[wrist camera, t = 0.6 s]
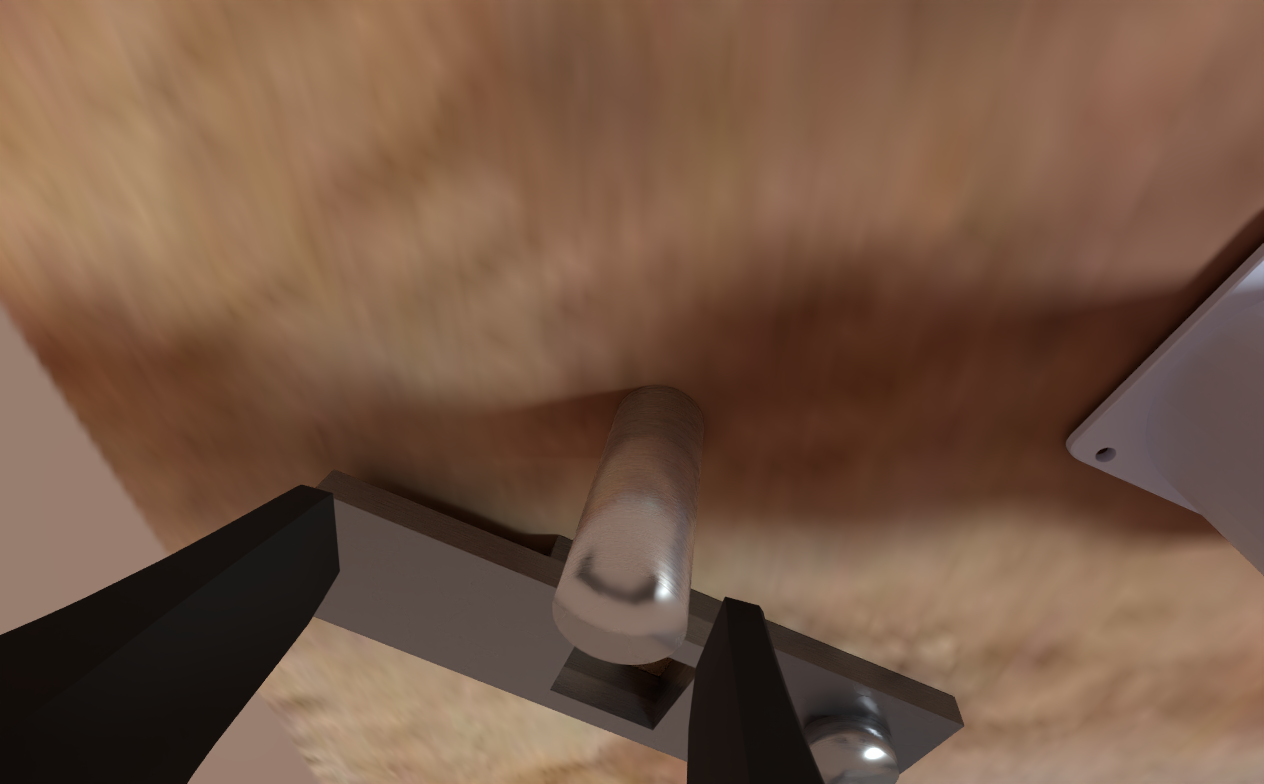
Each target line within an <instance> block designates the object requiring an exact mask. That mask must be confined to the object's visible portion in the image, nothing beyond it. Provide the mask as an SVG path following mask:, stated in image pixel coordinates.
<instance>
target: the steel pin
mask: <svg viewBox="0 0 1264 784" xmlns="http://www.w3.org/2000/svg"><path fill="white" fill-rule="evenodd" d="M703 435H704V420H703V416H702V413H701V411H700V409H699V407H698V406H697V405H696V403H695V402H694V401H693V400H692V399H691V398H690V397H689V396H687V395H686V394H684V393H683V392H681V391H679V390H677V389H674V388H671V387H667V386H656V385H654V386H646V387H642V388H639V389H637V390H635V391H633V392H631V393H630V394H628V395H627V396H626V397H625V398H624V399H623V400H622V402H621V403H620V405H619V407H618V409H617V412H616V415H615V418H614V421H613V424H612V427H611V429H610V432H609V435H608V438H607V441H606V444H605V447H604V450H603V453H602V456H601V459H600V462H599V465H598V468H597V471H596V474H595V477H594V480H593V483H592V486H591V489H590V492H589V495H588V498H587V501H586V504H585V507H584V510H583V513H582V516H581V519H580V522H579V525H578V528H577V531H576V534H575V537H574V540H573V543H572V546H571V549H570V552H569V555H568V558H567V561H566V564H565V567H564V570H563V573H562V576H561V579H560V582H559V585H558V588H557V591H556V594H555V596H554V599H553V605H552V613H553V618H554V621H555V623H556V625H557V627H558V629H559V630H560V632H561V633H562V634H563V636H564V637H565V638H566V639H567V640H568V641H569V642H570V643H572V644H573V645H574V646H575V647H577V648H578V649H580V650H581V651H583V652H585V653H587V654H589V655H591V656H593V657H595V658H598V659H601V660H604V661H608V662H612V663H617V664H626V665H639V664H647V663H652V662H656V661H659V660H661V659H664V658H666V657H668V656H669V655H671V654H672V653H674V652H675V651H676V650H677V649H678V648H679V647H680V646H681V644H682V643H683V641H684V639H685V636H686V632H687V624H688V612H689V600H690V588H691V577H692V565H693V553H694V541H695V529H696V517H697V506H698V494H699V482H700V470H701V458H702V447H703Z"/></svg>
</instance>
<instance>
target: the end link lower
mask: <svg viewBox="0 0 1264 784" xmlns="http://www.w3.org/2000/svg"><path fill="white" fill-rule="evenodd" d="M572 543H573V541H572V540H570V539H567V538H565V537H562V536H560V535H558V537H557V539H556V542H555V544H554V546H553V548H552V550H551V552H550V554H549V557H550V558H553V559H555V560H558V561H560V562H563V563H565V564H566V561H567V558H568V555H569V552H570V549H571V546H572ZM722 603H723V602H721V601H718V600H716V599H714V598H711V597H709V596H706V595H704V594H701V593H699V592H696V591H694V590H692V589H690V600H689V612H688V614H691V615H693V616H695V617H698V618H700V619H703V620H705V621H708V622H710V623H713V624H714V622H715V620H716V617H717V615H718V612H719V610H720V608H721V605H722ZM766 624H767V627H768V630H769V634H770V637H771V640H772V644H773V647H774V650H775V653H776V656H777V659H778V662H779V665H780V668H781V671H782V674H783V677H784V680H785V683H786V686H787V689H788V692H789V694H790V697H791V700H792V703H793V705H794V708H795V711H796V713H797V716H798V718H799V721H800V724H801V726H802V729H803V731H804V734H805V736H806V739H807V742H808V744H809V747H810V749H811V752H812V754H813V757H814V759H815V761H816V764H817V766H818V769H819V771H820V773H821V776H822V778H823V780H824V783H825V784H895V783H896V782H897V780H898V778H899V775H900V774H901V773H902V772H904V771H905V770H906V769H908V768H909V767H910V766H912V765H913V764H914V763H916V762H917V761H918V760H920V759H921V758H922V757H924V756H925V755H926V754H928V753H929V752H930V751H932V750H933V749H934V748H936V747H937V746H938V745H940V744H941V743H942V742H944V741H945V740H946V739H948V738H949V737H950V736H952V735H953V734H954V733H956V732H957V731H958V730H960V729H961V728H962V727H964V723H963V720H962V717H961V714H960V711H959V708H958V706H957V703H956V700H955V697H953V696H950V695H948V694H946V693H943V692H941V691H938V690H936V689H933V688H931V687H928V686H926V685H924V684H921V683H919V682H916V681H914V680H911V679H909V678H906V677H904V676H902V675H899V674H897V673H894V672H892V671H889V670H887V669H885V668H882V667H880V666H877V665H875V664H872V663H870V662H867V661H865V660H863V659H860V658H858V657H855V656H853V655H850V654H848V653H845V652H843V651H841V650H838V649H836V648H833V647H831V646H828V645H826V644H823V643H821V642H819V641H816V640H814V639H811V638H809V637H806V636H804V635H801V634H799V633H797V632H794V631H792V630H789V629H787V628H784V627H782V626H780V625H777V624H775V623H772V622H770V621H767V620H766ZM685 665H686V664H684V663H682V662H679V661H677V660H674V659H673V660H672V661H671V663H670V664H669V665H668V667H667V668H666V670H665V671H664V672H663V674H662V675H661V676H660V678H659V677H657V676H654V675H651V674H649V673H646V672H644V671H641V670H639V669H636V668H634V667H631V666H629V665H626V664H617V663H612V662H608V661H604V660H601V659H598V658H595V657H593V656H591V655H589V654H587V653H585V652H583V651H581V650H580V649H578V648H577V647H574V648H573V650H572V652H571V654H570V655H569V657H568V659H567V661H566V662H565V664H564V667H567V668H569V669H572V670H574V671H577V672H579V673H582V674H584V675H587V676H589V677H592V678H594V679H597V680H600V681H602V682H605V683H607V684H610V685H612V686H615V687H617V688H620V689H622V690H625V691H627V692H630V693H632V694H635V695H638V696H640V697H643V698H645V699H648V700H650V701H653V702H655V703H657V702H658V700H659V699H660V698H661V696H662V695H663V694H664V692H665V691H666V690H667V688H668V687H669V686H670V684H671V683H672V682H673V681H674V679H675V678H676V677H677V675H678V674H679V673H680V671H681V670H682V669H683V667H684V666H685Z"/></svg>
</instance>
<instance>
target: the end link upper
mask: <svg viewBox="0 0 1264 784" xmlns="http://www.w3.org/2000/svg"><path fill="white" fill-rule="evenodd" d="M316 489H320V490H324V491H327V492H331V493H333V498H334V509H335V520H336V531H337V543H338V554H339V565H340V572H339V574H338V576H337V577H336V579H335V581H334V583H333V584H332V586H331V588H330V589H329V591H328V593H327V594H326V596H325V598H324V600H323V601H322V603H321V604H320V606H319V608H318V609H317V611H316V612H315V614H314V617H316V618H319V619H322V620H324V621H327V622H329V623H332V624H334V625H337V626H340V627H342V628H345V629H347V630H350V631H352V632H355V633H358V634H360V635H363V636H365V637H368V638H370V639H373V640H376V641H378V642H381V643H383V644H386V645H388V646H391V647H394V648H396V649H399V650H401V651H404V652H406V653H409V654H412V655H414V656H417V657H419V658H422V659H424V660H427V661H430V662H432V663H435V664H437V665H440V666H442V667H445V668H447V669H450V670H453V671H455V672H458V673H460V674H463V675H465V676H468V677H471V678H473V679H476V680H478V681H481V682H483V683H486V684H489V685H491V686H494V687H496V688H499V689H501V690H504V691H507V692H509V693H512V694H514V695H517V696H519V697H522V698H525V699H527V700H530V701H532V702H535V703H537V704H540V705H543V706H545V707H548V708H550V709H553V710H555V711H558V712H561V713H563V714H566V715H568V716H571V717H573V718H576V719H579V720H581V721H584V722H586V723H589V724H591V725H594V726H597V727H599V728H602V729H604V730H607V731H609V732H612V733H614V734H617V735H620V736H622V737H625V738H627V739H630V740H632V741H635V742H638V743H640V744H643V745H645V746H648V747H650V748H653V749H656V750H658V751H661V752H663V753H666V754H668V755H671V756H674V757H676V758H679V759H681V760H684V761H686V762H687V760H688V727H689V718H690V710H691V701H692V693H693V685H694V678H695V670H696V666H697V663H698V661H699V658H700V656H701V654H702V651H703V649H704V646H705V644H706V642H707V639H708V637H709V634H710V632H711V629H712V627H713V625H714V624H713V623H710V622H708V621H705V620H703V619H700V618H698V617H695V616H693V615H691V614H688V624H687V632H686V636H685V639H684V641H683V643H682V644H681V646H680V647H679V648H678V649H677V650H676V651H675V652H674V653H672V654H671V655H669V656H668V657H669V658H672V659H674V660H677V661H679V662H682V663H684V664H686V665H685V666H684V667H683V669H682V670H681V671H680V673H679V674H678V675H677V677H676V678H675V679H674V681H673V682H672V683H671V684H670V686H669V687H668V688H667V690H666V691H665V692H664V694H663V695H662V696H661V698H660V699H659V700H658V702H657V703H655V702H653V701H650V700H648V699H645V698H643V697H640V696H638V695H635V694H632V693H630V692H627V691H625V690H622V689H620V688H617V687H615V686H612V685H610V684H607V683H605V682H602V681H600V680H597V679H594V678H592V677H589V676H587V675H584V674H582V673H579V672H577V671H574V670H572V669H569V668H567V667H564V664H565V662H566V661H567V659H568V657H569V655H570V654H571V652H572V650H573V648H574V647H575V646H574V645H573V644H572V643H570V642H569V641H568V640H567V639H566V638H565V637H564V636H563V634H562V633H561V632H560V630H559V629H558V627H557V625H556V623H555V621H554V618H553V613H552V605H553V599H554V596H555V594H556V591H557V588H558V585H559V582H560V579H561V576H562V573H563V570H564V567H565V563H563V562H560V561H558V560H555V559H553V558H550V557H548V556H545V555H543V554H541V553H538V552H536V551H533V550H531V549H528V548H526V547H523V546H521V545H518V544H516V543H513V542H511V541H509V540H506V539H504V538H501V537H499V536H496V535H494V534H491V533H489V532H486V531H484V530H481V529H479V528H477V527H474V526H472V525H469V524H467V523H464V522H462V521H459V520H457V519H454V518H452V517H450V516H447V515H445V514H442V513H440V512H437V511H435V510H432V509H430V508H427V507H425V506H422V505H420V504H418V503H415V502H413V501H410V500H408V499H405V498H403V497H400V496H398V495H395V494H393V493H390V492H388V491H386V490H383V489H381V488H378V487H376V486H373V485H371V484H368V483H366V482H363V481H361V480H359V479H356V478H354V477H351V476H349V475H346V474H344V473H341V472H339V471H336V470H333V471H332V472H331V473H330V474H329V475H328V476H327V477H326V478H325V479H324V480H323V481H322V482H321V483H320V484H319V485H318V486H317V487H316Z"/></svg>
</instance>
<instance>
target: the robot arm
mask: <svg viewBox="0 0 1264 784" xmlns="http://www.w3.org/2000/svg"><path fill="white" fill-rule="evenodd" d="M1108 447H1109V448H1108ZM1066 448H1067V450H1068V451H1069V453H1070V454H1071V455H1072V456H1073V457H1074V458H1076V459H1077V460H1079V461H1081V462H1083V463H1086V464H1088V465H1090V466H1092V467H1095V468H1097V469H1099V470H1101V471H1104V472H1106V473H1108V474H1110V475H1113V476H1115V477H1117V478H1119V479H1122V480H1124V481H1126V482H1128V483H1131V484H1133V485H1135V486H1137V487H1140V488H1142V489H1144V490H1146V491H1149V492H1151V493H1153V494H1155V495H1158V496H1160V497H1162V498H1164V499H1167V500H1169V501H1171V502H1173V503H1176V504H1178V505H1180V506H1182V507H1185V508H1187V509H1189V510H1191V511H1194V512H1196V513H1198V514H1200V515H1202V516H1203V517H1204V518H1205V519H1206V520H1207V521H1208V522H1209V523H1210V524H1211V525H1212V526H1213V527H1214V528H1215V529H1216V530H1217V531H1219V532H1220V533H1221V534H1222V535H1223V536H1224V537H1225V538H1226V539H1227V540H1228V541H1229V542H1230V543H1231V544H1232V545H1233V546H1234V547H1235V548H1236V549H1237V550H1238V551H1239V552H1240V553H1241V554H1242V555H1243V556H1244V557H1245V558H1246V559H1247V560H1248V561H1249V562H1250V563H1251V564H1252V565H1253V566H1254V567H1255V568H1256V569H1257V570H1258V571H1259V572H1260V573H1261V574H1262V575H1263V576H1264V243H1263V244H1262V245H1261V246H1260V247H1259V248H1258V249H1257V250H1256V251H1255V252H1254V253H1253V254H1252V255H1251V256H1250V257H1249V258H1248V259H1247V260H1246V261H1245V262H1244V263H1243V264H1242V265H1241V266H1240V267H1239V268H1238V269H1237V270H1236V271H1235V272H1234V273H1233V274H1232V275H1231V276H1230V277H1229V278H1228V279H1227V280H1226V281H1225V282H1224V283H1223V284H1222V285H1221V286H1220V287H1219V288H1218V289H1217V290H1216V291H1215V292H1214V293H1213V294H1212V295H1211V296H1210V297H1209V298H1208V299H1207V300H1206V301H1205V302H1204V303H1203V304H1202V305H1201V306H1200V307H1199V308H1198V309H1197V310H1196V311H1195V312H1194V313H1193V314H1192V315H1191V316H1190V317H1189V318H1188V319H1187V320H1186V321H1185V322H1183V323H1182V324H1181V325H1180V326H1179V327H1178V328H1177V329H1176V330H1175V331H1174V332H1173V333H1172V334H1171V335H1170V336H1169V337H1168V338H1167V339H1166V340H1165V341H1164V342H1163V343H1162V344H1161V345H1160V346H1159V347H1158V348H1157V349H1156V350H1155V351H1154V352H1153V353H1152V354H1151V355H1150V356H1149V357H1148V358H1147V359H1146V360H1145V361H1144V362H1143V363H1142V364H1141V365H1140V366H1139V367H1138V368H1137V369H1136V370H1135V371H1134V372H1133V373H1132V374H1131V375H1130V376H1129V377H1128V378H1127V379H1126V380H1125V381H1124V382H1123V383H1122V384H1121V385H1120V386H1119V387H1118V388H1117V389H1116V390H1115V391H1114V392H1113V393H1112V394H1111V395H1110V396H1109V397H1108V398H1107V399H1106V400H1105V401H1104V402H1103V403H1102V404H1101V405H1100V406H1099V407H1098V408H1097V409H1096V410H1095V411H1094V412H1093V413H1092V414H1091V415H1090V416H1089V417H1088V418H1087V419H1086V420H1085V421H1084V422H1083V423H1082V424H1081V425H1080V426H1079V427H1078V428H1077V429H1076V430H1075V431H1074V432H1073V433H1072V434H1071V435H1070V436H1069V438H1068V439H1067V441H1066ZM1103 448H1108V449H1107V451H1105V452H1104V453H1102V454H1097V455H1096V453H1097V452H1098V451H1099V450H1101V449H1103ZM339 572H340V565H339V554H338V543H337V531H336V520H335V509H334V498H333V493H331V492H327V491H324V490H320V489H316V488H312V487H309V486H305V485H299V486H297V487H295V488H293V489H292V490H290V491H288V492H286V493H284V494H282V495H280V496H279V497H277V498H275V499H273V500H271V501H269V502H268V503H266V504H264V505H262V506H260V507H259V508H257V509H255V510H253V511H251V512H250V513H248V514H246V515H244V516H242V517H240V518H239V519H237V520H235V521H233V522H231V523H230V524H228V525H226V526H224V527H222V528H220V529H219V530H217V531H215V532H213V533H211V534H209V535H207V536H206V537H204V538H202V539H200V540H198V541H196V542H194V543H193V544H191V545H189V546H187V547H185V548H183V549H181V550H179V551H178V552H176V553H174V554H172V555H170V556H168V557H166V558H164V559H162V560H160V561H159V562H156V563H155V564H152V565H151V566H148V567H146V568H144V569H142V570H140V571H138V572H136V573H134V574H132V575H130V576H128V577H126V578H124V579H122V580H120V581H118V582H116V583H114V584H112V585H110V586H108V587H106V588H104V589H102V590H100V591H98V592H96V593H94V594H92V595H90V596H88V597H86V598H83V599H81V600H79V601H77V602H75V603H73V604H70V605H68V606H66V607H64V608H62V609H59V610H57V611H55V612H53V613H51V614H48V615H46V616H44V617H42V618H39V619H37V620H35V621H32V622H30V623H28V624H25V625H23V626H21V627H18V628H16V629H14V630H11V631H9V632H6V633H4V634H2V635H0V784H187V783H188V781H189V780H190V778H191V777H192V775H193V774H194V772H195V771H196V770H197V768H198V767H199V765H200V764H201V763H202V761H203V760H204V759H205V757H206V756H207V754H208V753H209V751H210V750H211V749H212V748H213V746H214V745H215V743H216V742H217V741H218V740H219V738H220V737H221V736H222V735H223V733H224V732H225V731H226V729H227V728H228V727H229V726H230V724H231V723H232V722H233V720H234V719H235V718H236V717H237V715H238V714H239V713H240V711H241V710H242V709H243V708H244V706H245V705H246V704H247V702H248V701H249V700H250V699H251V697H252V696H253V695H254V693H255V692H256V691H257V690H258V688H259V687H260V686H261V685H262V683H263V682H264V681H265V679H266V678H267V677H268V676H269V674H270V673H271V672H272V671H273V669H274V668H275V667H276V665H277V664H278V663H279V662H280V660H281V659H282V658H283V656H284V655H285V654H286V652H287V651H288V650H289V649H290V647H291V646H292V645H293V643H294V642H295V641H296V639H297V638H298V637H299V636H300V634H301V633H302V632H303V630H304V629H305V628H306V626H307V625H308V624H309V622H310V620H311V619H312V617H313V616H314V614H315V612H316V611H317V609H318V608H319V606H320V604H321V603H322V601H323V600H324V598H325V596H326V594H327V593H328V591H329V589H330V588H331V586H332V584H333V583H334V581H335V579H336V577H337V576H338V574H339ZM687 784H825V783H824V780H823V778H822V776H821V773H820V771H819V769H818V766H817V764H816V761H815V759H814V757H813V754H812V752H811V749H810V747H809V744H808V742H807V739H806V736H805V734H804V731H803V729H802V726H801V724H800V721H799V718H798V716H797V713H796V711H795V708H794V705H793V703H792V700H791V697H790V694H789V692H788V689H787V686H786V683H785V680H784V677H783V674H782V671H781V668H780V665H779V662H778V659H777V656H776V653H775V650H774V647H773V644H772V640H771V637H770V634H769V630H768V627H767V624H766V620H765V617H764V613H763V611H762V609H761V608H760V606H759V605H755V604H751V603H747V602H743V601H740V600H736V599H732V598H728V597H725V598H724V600H723V603H722V605H721V608H720V610H719V612H718V615H717V617H716V620H715V622H714V625H713V627H712V629H711V632H710V634H709V637H708V639H707V642H706V644H705V646H704V649H703V651H702V654H701V656H700V658H699V661H698V663H697V666H696V670H695V678H694V685H693V693H692V701H691V710H690V718H689V727H688V760H687Z"/></svg>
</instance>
